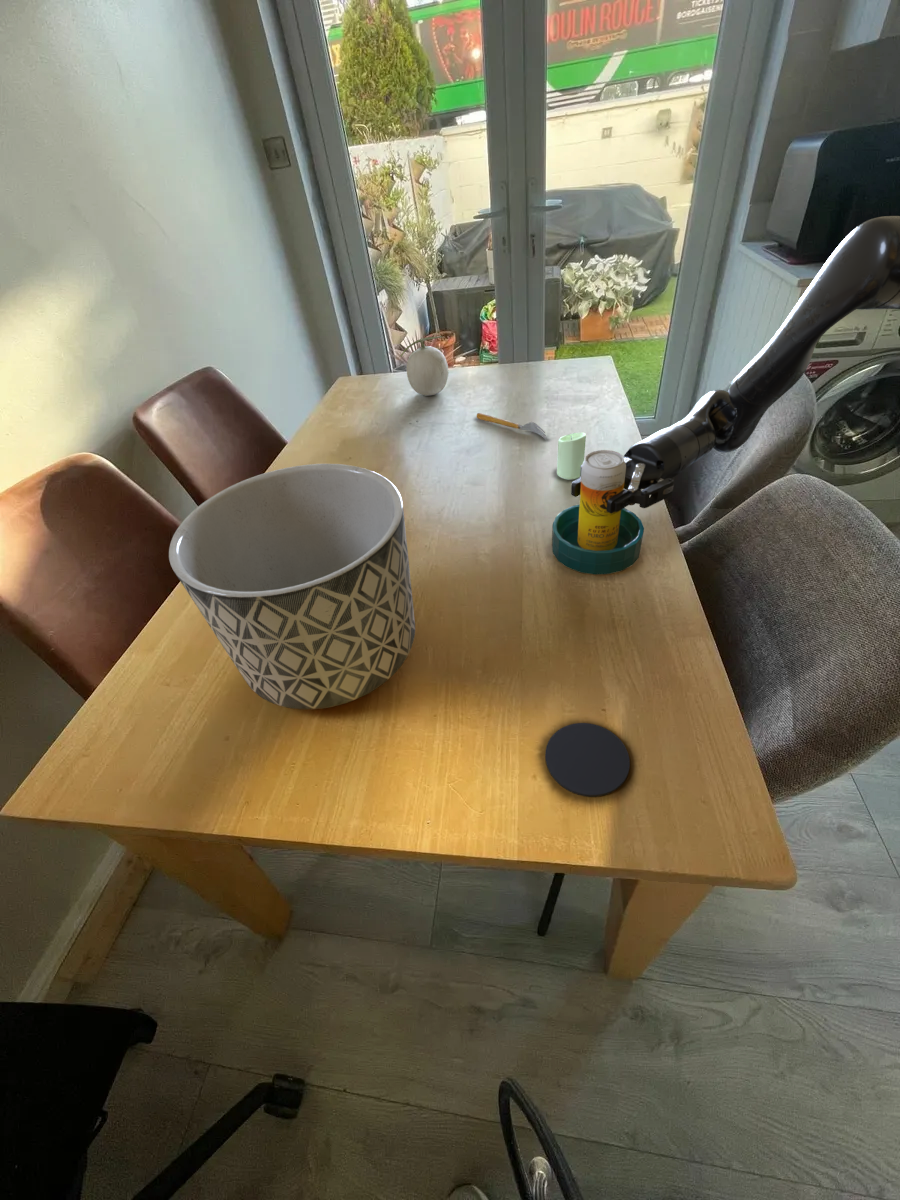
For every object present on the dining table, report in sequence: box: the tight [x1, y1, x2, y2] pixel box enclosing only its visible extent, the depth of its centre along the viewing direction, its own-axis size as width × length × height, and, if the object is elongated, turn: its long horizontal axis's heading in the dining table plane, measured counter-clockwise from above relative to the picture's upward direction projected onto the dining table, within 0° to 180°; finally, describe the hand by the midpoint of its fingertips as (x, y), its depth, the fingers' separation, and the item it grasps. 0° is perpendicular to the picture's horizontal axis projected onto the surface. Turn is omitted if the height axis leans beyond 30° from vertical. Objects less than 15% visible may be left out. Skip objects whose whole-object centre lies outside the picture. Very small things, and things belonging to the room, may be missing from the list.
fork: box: [476, 412, 547, 440], centre depth 123 cm, size 2×2×20 cm
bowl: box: [551, 503, 645, 576], centre depth 87 cm, size 14×14×4 cm
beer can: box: [577, 449, 626, 551], centre depth 82 cm, size 6×6×15 cm
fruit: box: [400, 335, 449, 397], centre depth 138 cm, size 10×12×15 cm
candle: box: [556, 432, 587, 481], centre depth 104 cm, size 5×5×8 cm
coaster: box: [544, 722, 631, 798], centre depth 60 cm, size 9×9×1 cm
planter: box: [168, 463, 416, 711], centre depth 69 cm, size 26×26×22 cm
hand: (590, 498), depth 80 cm, fingers closed on beer can, 6 cm apart
